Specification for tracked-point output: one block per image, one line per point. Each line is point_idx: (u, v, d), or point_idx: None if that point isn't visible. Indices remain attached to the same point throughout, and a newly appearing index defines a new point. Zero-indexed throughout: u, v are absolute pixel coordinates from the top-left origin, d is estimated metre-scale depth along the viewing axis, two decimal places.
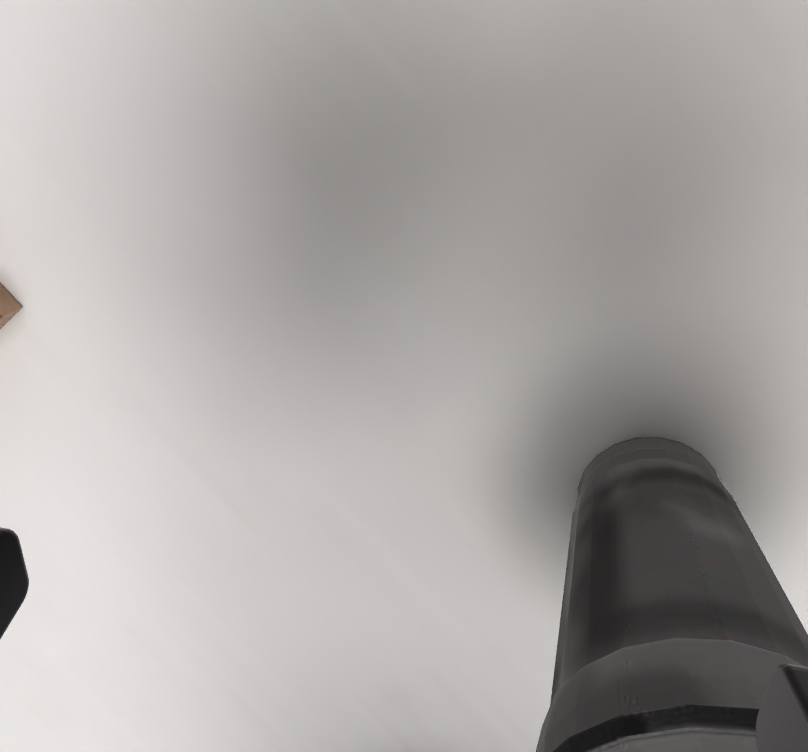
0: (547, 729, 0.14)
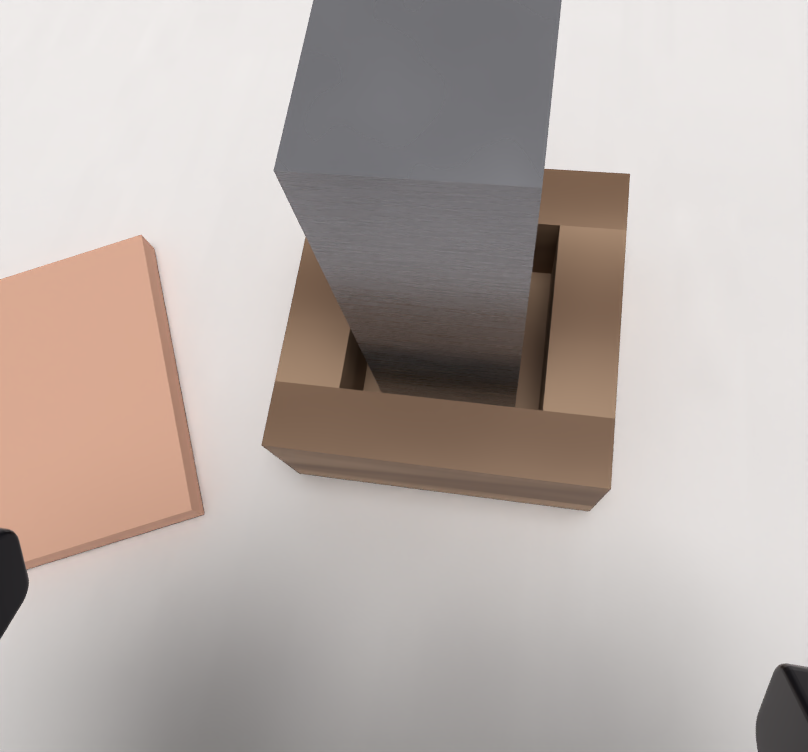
0: None
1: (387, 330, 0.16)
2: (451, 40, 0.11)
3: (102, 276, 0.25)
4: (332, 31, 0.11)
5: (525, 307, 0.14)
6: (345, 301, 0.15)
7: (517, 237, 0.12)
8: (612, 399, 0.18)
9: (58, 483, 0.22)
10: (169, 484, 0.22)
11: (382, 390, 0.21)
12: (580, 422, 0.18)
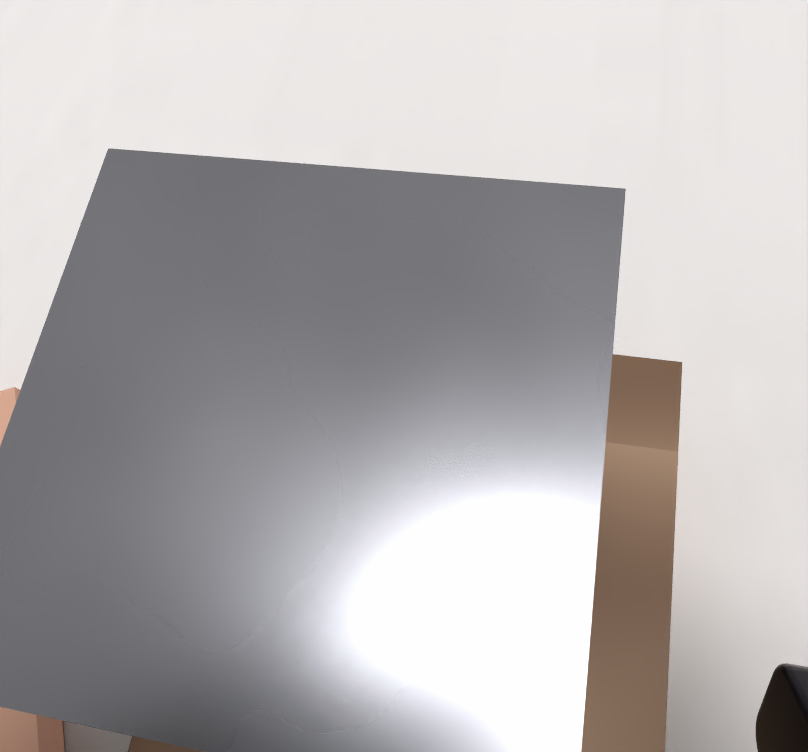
0: None
1: None
2: (364, 351, 0.05)
3: None
4: (106, 308, 0.05)
5: None
6: None
7: None
8: (659, 739, 0.12)
9: None
10: None
11: None
12: None
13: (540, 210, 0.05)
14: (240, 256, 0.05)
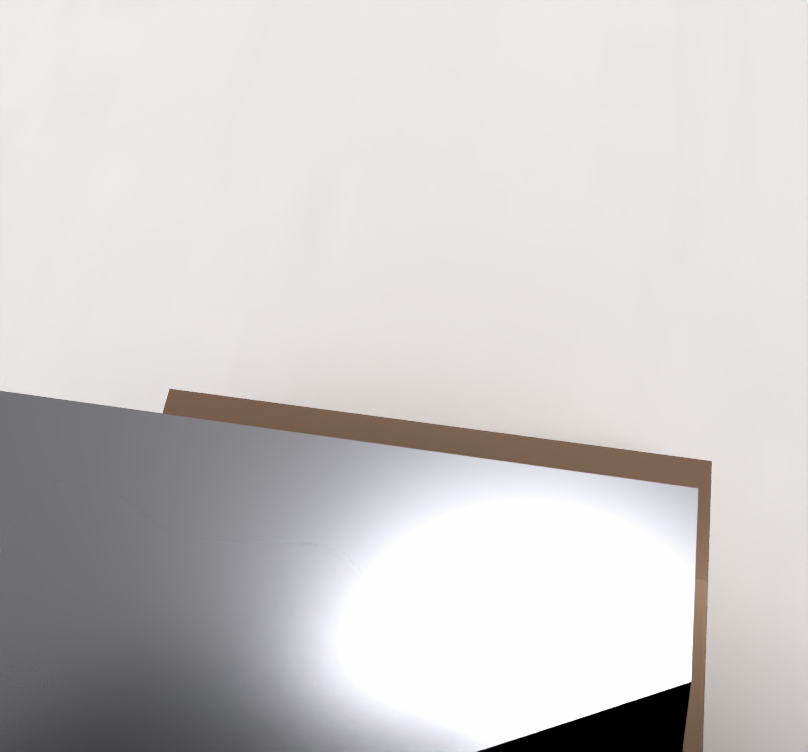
0: None
1: None
2: None
3: None
4: None
5: None
6: None
7: None
8: None
9: None
10: None
11: None
12: None
13: (502, 539, 0.02)
14: None
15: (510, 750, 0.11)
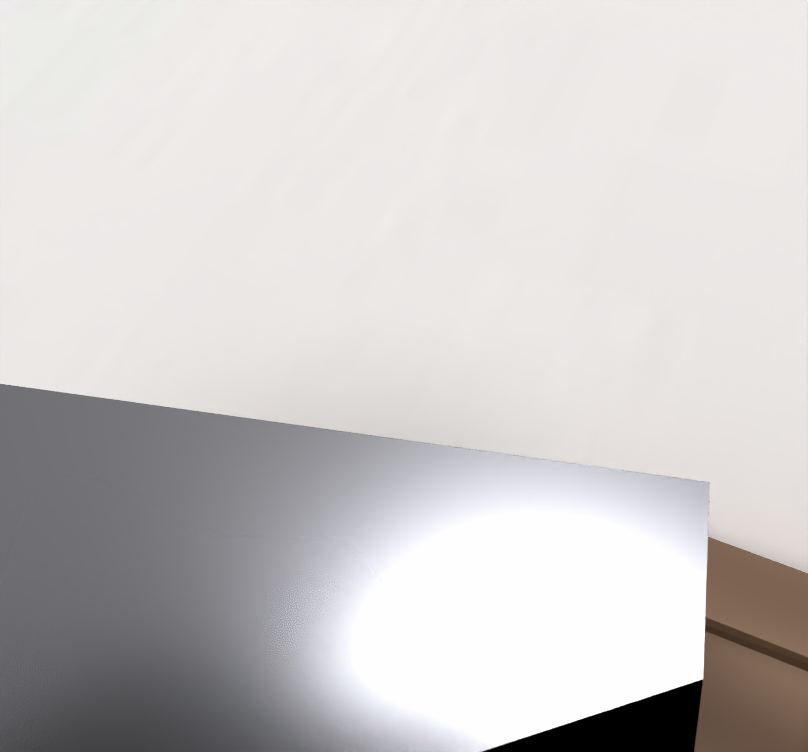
0: None
1: None
2: None
3: None
4: None
5: None
6: None
7: None
8: None
9: None
10: None
11: None
12: None
13: (511, 528, 0.02)
14: None
15: (512, 748, 0.11)
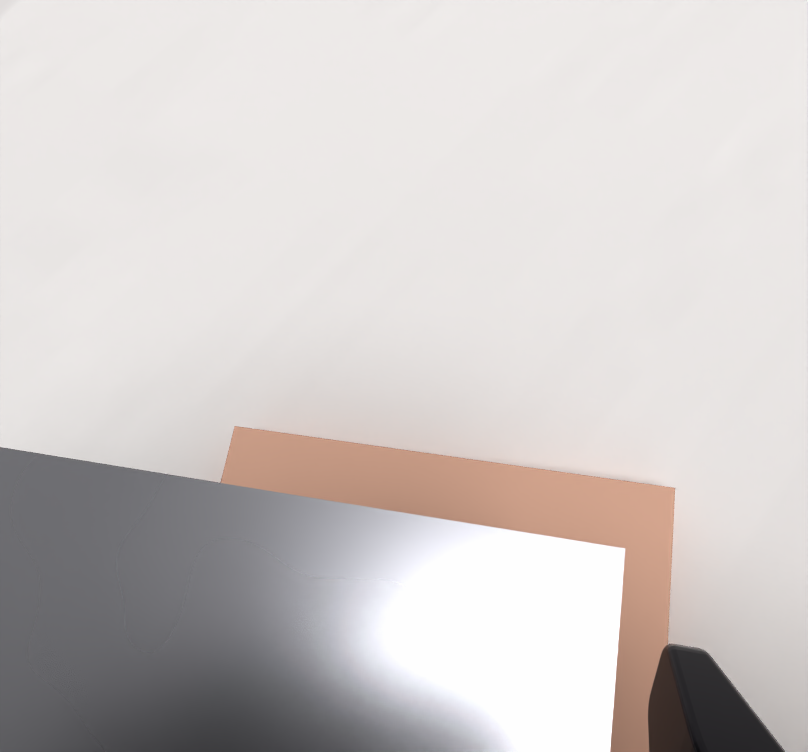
0: None
1: None
2: None
3: (594, 530, 0.15)
4: None
5: None
6: None
7: None
8: None
9: None
10: None
11: None
12: None
13: (504, 578, 0.04)
14: (84, 625, 0.04)
15: None
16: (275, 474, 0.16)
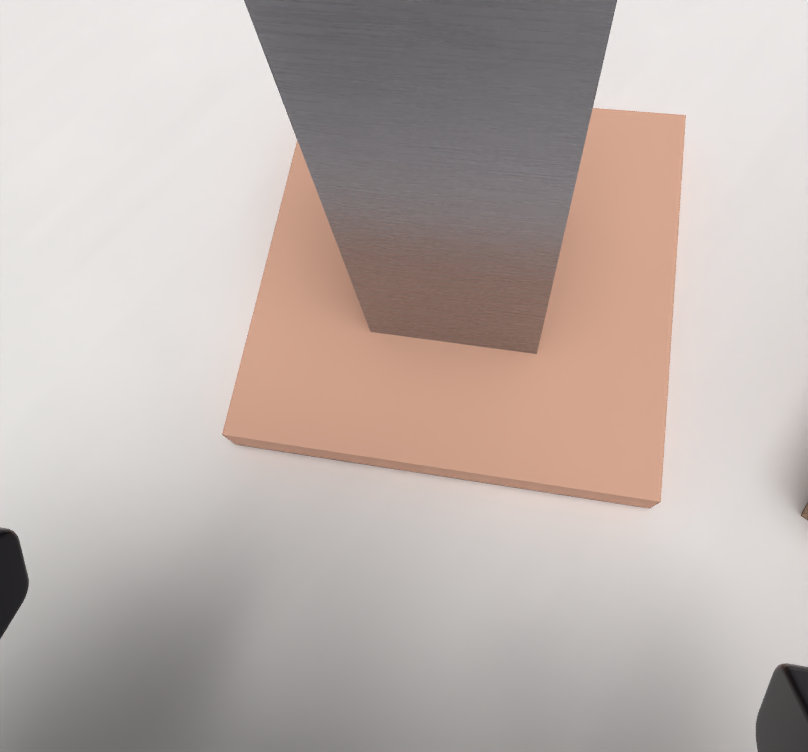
0: None
1: (374, 206, 0.12)
2: None
3: (618, 147, 0.18)
4: None
5: (580, 149, 0.09)
6: (311, 146, 0.10)
7: None
8: None
9: (487, 384, 0.17)
10: (638, 453, 0.16)
11: (368, 319, 0.16)
12: None
13: None
14: None
15: None
16: None
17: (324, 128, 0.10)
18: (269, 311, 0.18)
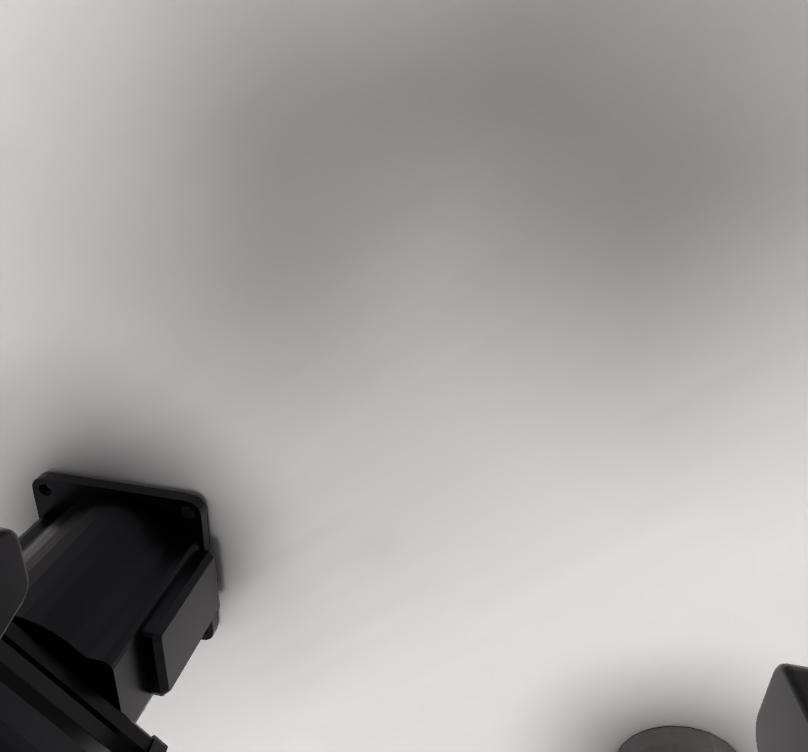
0: None
1: None
2: None
3: None
4: None
5: None
6: None
7: None
8: None
9: None
10: None
11: None
12: None
13: None
14: None
15: None
16: None
17: None
18: None
